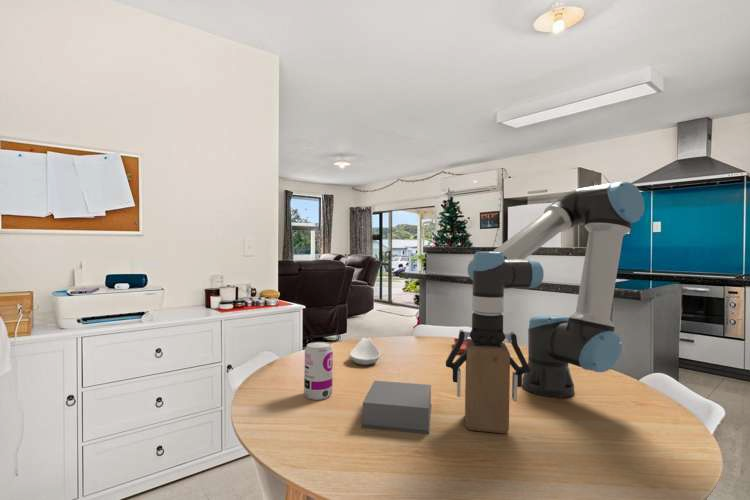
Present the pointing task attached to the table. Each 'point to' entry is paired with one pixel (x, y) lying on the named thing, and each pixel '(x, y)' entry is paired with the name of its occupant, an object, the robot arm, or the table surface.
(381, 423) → the charcoal base block
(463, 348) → the plant saucer
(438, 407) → the table surface
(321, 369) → the supplement can
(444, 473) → the table surface
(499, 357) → the wooden block
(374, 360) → the spoon rest
